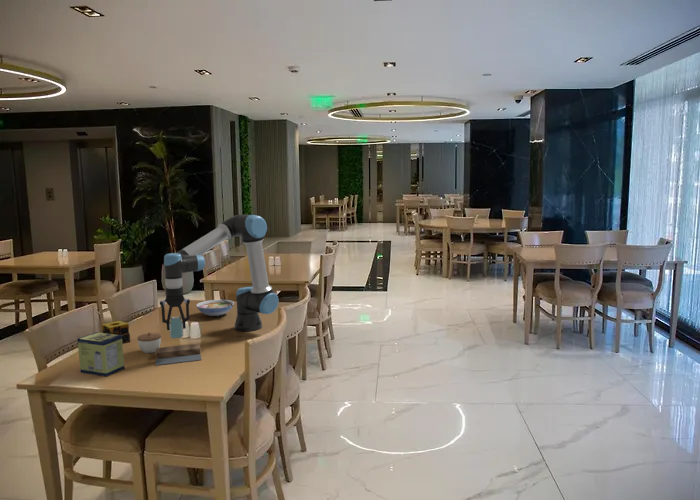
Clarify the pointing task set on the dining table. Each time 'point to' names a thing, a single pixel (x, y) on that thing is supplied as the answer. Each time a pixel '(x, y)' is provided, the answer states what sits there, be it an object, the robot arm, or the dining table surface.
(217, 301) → the ramen bowl
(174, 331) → the block
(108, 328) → the black yellow box
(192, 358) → the mat
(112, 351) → the protein box
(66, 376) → the dining table surface
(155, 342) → the lidded jar
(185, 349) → the ledge
